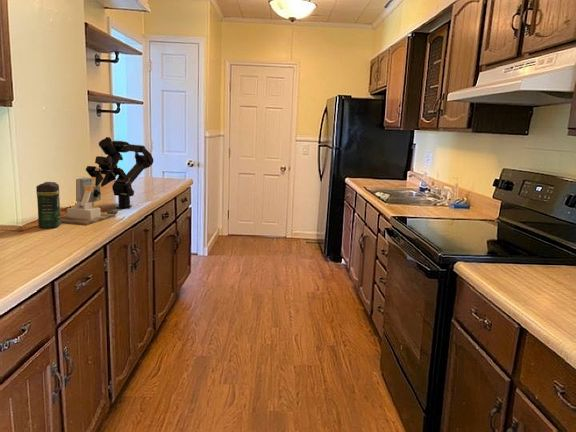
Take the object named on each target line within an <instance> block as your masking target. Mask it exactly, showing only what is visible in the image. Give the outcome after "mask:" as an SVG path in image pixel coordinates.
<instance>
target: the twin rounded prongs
mask: <svg viewBox="0 0 576 432" xmlns="http://www.w3.org/2000/svg"><path fill="white" fill-rule="evenodd" d="M118 212H119V211H118V209H117V208H114V209H111V210H108V211H107V212H106V214H115V215H116V214H117V213H118Z"/></svg>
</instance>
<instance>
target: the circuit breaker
mask: <svg viewBox="0 0 576 432" xmlns="http://www.w3.org/2000/svg"><path fill="white" fill-rule="evenodd" d="M81 177H82V178H78V179H76V201H77V203H78V202H82V199H83V196H84V193H85V190H84V188H85V186H91V187H93V188H94V189H93V192H91V195H90V198H89V201H88V203H89V202H92V207H94V202H98V201H101V200H102V198H101V197H102V196H101V195H102V193H101V185H100V184H99V185H98V186H97V187H96V186H95V184H93V177H85V176H81Z"/></svg>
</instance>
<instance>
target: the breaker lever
mask: <svg viewBox="0 0 576 432" xmlns="http://www.w3.org/2000/svg"><path fill="white" fill-rule="evenodd" d="M93 189H94V188H93V187H91V186H85V188H84V190H85V193H84V196H83V199H82V202H81V205H80V207H81V208H83V204H85V203H88V201H89V198H90V195H91V192H93Z"/></svg>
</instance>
